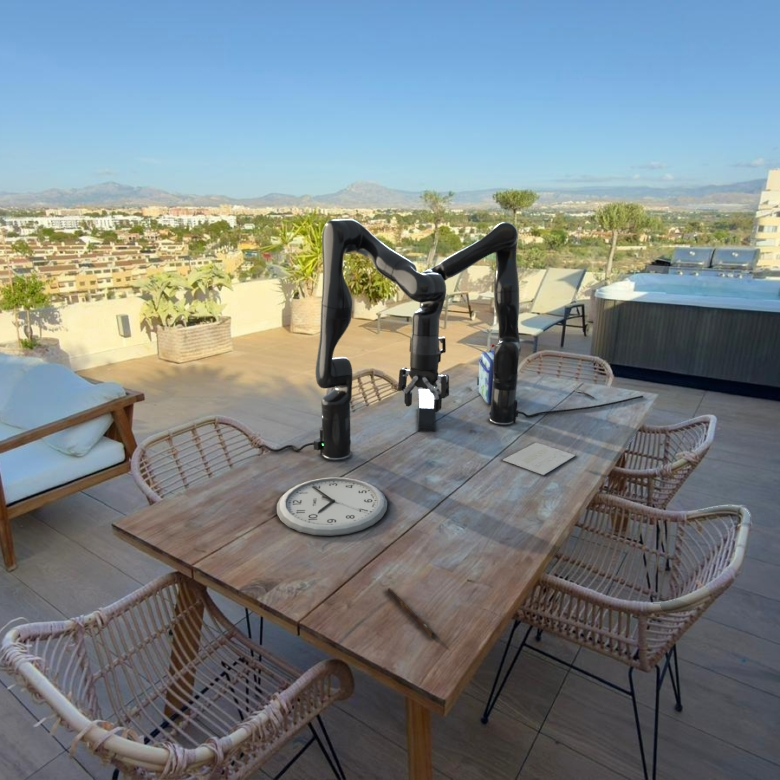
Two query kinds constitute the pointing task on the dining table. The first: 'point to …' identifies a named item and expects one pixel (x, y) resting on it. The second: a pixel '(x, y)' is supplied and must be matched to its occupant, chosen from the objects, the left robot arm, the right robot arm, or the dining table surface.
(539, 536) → the dining table surface
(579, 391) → the fork
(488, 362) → the lunch box
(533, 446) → the invitation card
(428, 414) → the bar
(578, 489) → the dining table surface
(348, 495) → the wall clock
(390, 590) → the dark brown stick
